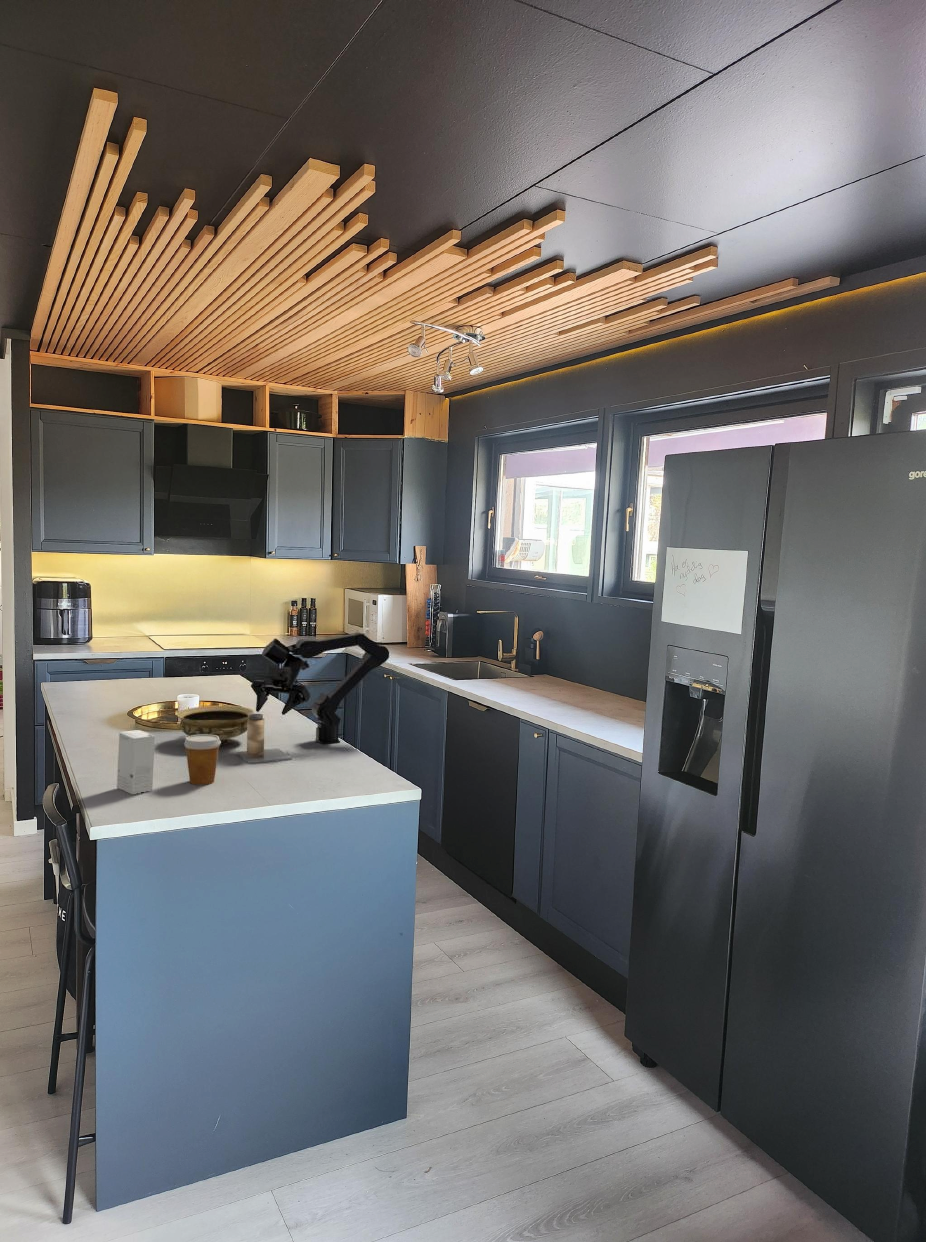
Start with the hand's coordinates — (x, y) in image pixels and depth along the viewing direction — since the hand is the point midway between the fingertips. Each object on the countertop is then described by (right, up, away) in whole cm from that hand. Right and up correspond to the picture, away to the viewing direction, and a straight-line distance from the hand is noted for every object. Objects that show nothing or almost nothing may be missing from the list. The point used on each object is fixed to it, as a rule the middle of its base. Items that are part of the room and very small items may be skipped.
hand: (269, 712), depth 258 cm
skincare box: (-25, -15, -42) cm, 51 cm away
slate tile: (-1, -13, -4) cm, 14 cm away
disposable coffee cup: (-11, -15, -33) cm, 38 cm away
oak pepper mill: (-3, -12, -6) cm, 14 cm away
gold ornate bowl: (-20, -11, +11) cm, 26 cm away
